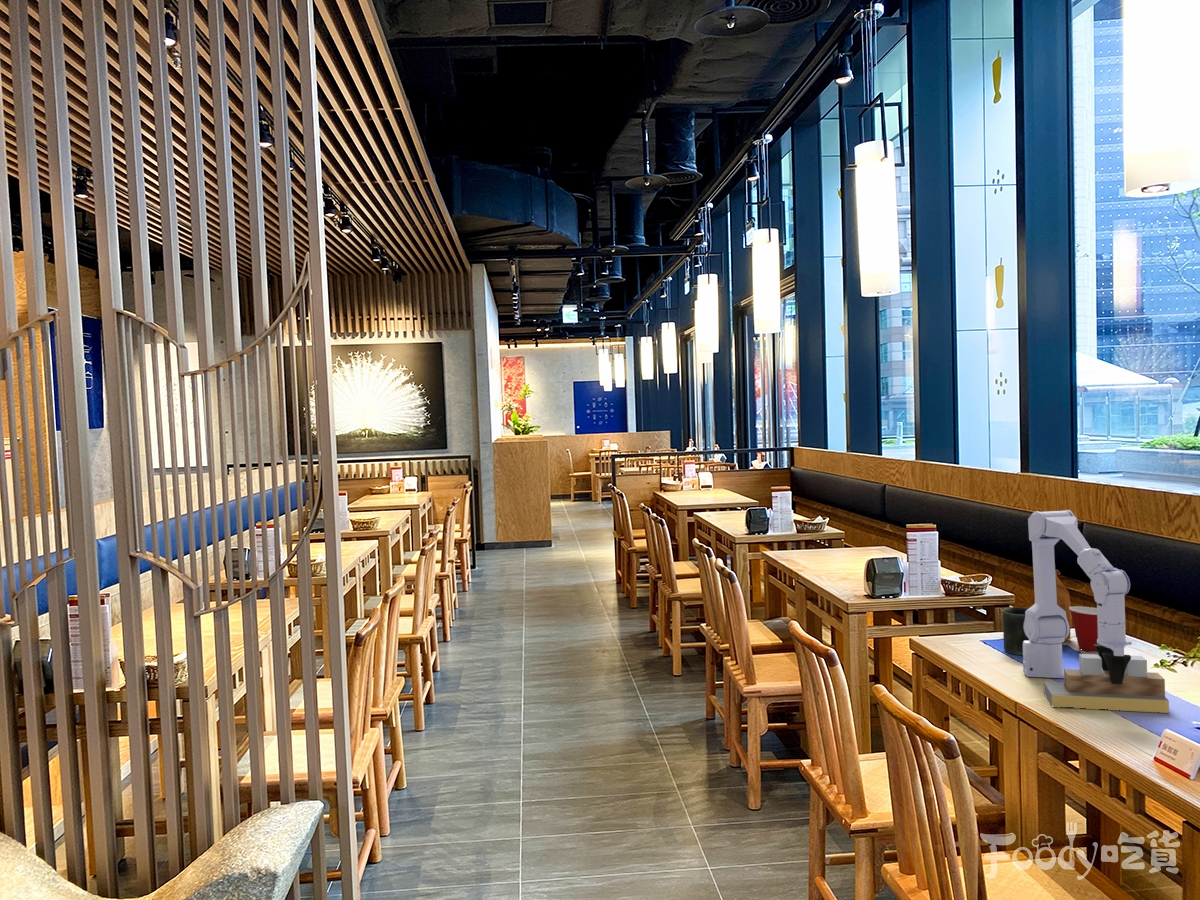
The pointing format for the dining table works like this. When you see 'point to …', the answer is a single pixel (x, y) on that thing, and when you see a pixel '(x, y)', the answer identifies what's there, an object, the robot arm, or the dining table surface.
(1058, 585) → the coffee package
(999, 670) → the dining table surface
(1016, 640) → the mug
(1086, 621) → the plastic cup
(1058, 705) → the dock
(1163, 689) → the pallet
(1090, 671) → the block
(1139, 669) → the block
